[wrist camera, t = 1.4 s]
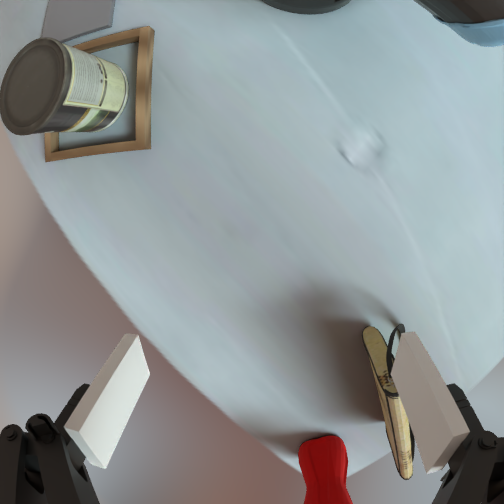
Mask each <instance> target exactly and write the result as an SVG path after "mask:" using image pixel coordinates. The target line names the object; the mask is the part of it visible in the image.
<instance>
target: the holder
mask: <svg viewBox="0 0 504 504" xmlns="http://www.w3.org/2000/svg"><path fill="white" fill-rule="evenodd" d="M138 41H139V47H138V61H137V80H136V140H135V141H126V142H117V143H109V144H102V145H95V146H88V147H81V148H75V149H69V150H64V151H59V132H54V133H45V161H46V162H50V161H56V160H62V159H68V158H75V157H82V156H89V155H97V154H105V153H113V152H123V151H133V150H144V149H151V81H152V60H153V44H154V30H153V29H152V28H151V27H150V26H146V27H141V28H137V29H132V30H128V31H124V32H120V33H116V34H112V35H108V36H105V37H101V38H98V39H94V40H91V41H88V42H85V43H81V44H78V45H75V46H72V47H73V48H76V49H79V50H81V51H84V52H86V53H93V52H96V51H100V50H104V49H107V48H111V47H115V46H120V45H124V44H128V43H133V42H138Z"/></svg>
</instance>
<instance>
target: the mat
mask: <svg viewBox="0 0 504 504" xmlns="http://www.w3.org/2000/svg"><path fill="white" fill-rule="evenodd" d="M114 6H115V0H49V3H48V7H47V12H46V16H45V21H44V27H43V32H42V38H43V37H50V38H53V39H56V40H58V41H60V42H61V43H63V42H66V41H69V40H72V39H74V38H77V37H80V36H83V35H86V34H89V33H92V32H96V31H99V30H102V29H106V28H109V27H112V19H113V12H114Z"/></svg>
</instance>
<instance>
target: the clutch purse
mask: <svg viewBox="0 0 504 504" xmlns="http://www.w3.org/2000/svg"><path fill="white" fill-rule="evenodd" d="M397 328H398V329H399V331H400V336H401V334H402V333H405V327H404V325H403V324H399V325H398V326H397V327H396V328H395V329H394V330H393V332H392V333H391V336H390V339H389V343H388V346H387V344H386V342H385V340H384V338H383V336H382V334H381V333H380V332H379V331H378V329H376V328H375V327H371V326H370V327H367V328H365V329H364V331H363V334H362V338H363V343H364V346H365V348H366V351H367V353H368V356H369V359H370V363H371V367H372V371H373V374H374V378H375V382H376V386H377V390H378V394H379V398H380V402H381V407H382V411H383V415H384V420H385V424H386V433H387V437H388V440H389V443H390V447H391V450H392V453H393V457H394V460H395V464H396V468H397V470H398V472H399V474H400V476H401V477H402V478H403V479H404V480H409V479H410V478H411V476H412V475H413V466H412V462H413V458H414V447H415V443H414V442H415V441H414V435H413V432H412V429H411V426H410V423H409V421H408V418H407V415H406V412H405V410H404V407H403V404H402V402H401V399H400V397H399V394H398V391H397V389H396V386H395V384H394V381H393V379H392V376H391V371H392V367H393V364H394V360H395V358H394V356H393V354H392V353H391V351H392V345H393V340H394V336H395V332H396V330H397ZM409 429H410V430H409Z"/></svg>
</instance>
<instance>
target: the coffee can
mask: <svg viewBox="0 0 504 504" xmlns="http://www.w3.org/2000/svg"><path fill="white" fill-rule="evenodd" d="M128 91H129V86H128V80H127V77H126V75H125V73H124V71H123V70H122V69H121V68H120V67H119V66H118V65H116V64H114V63H111V62H108V61H105V60H103V59H101V58H98V57H96V56H94V55H91V54H89V53H86V52H84V51H81V50H79V49H76V48H73V47H71V46H68V45H65V44H63V43H61V42H60V41H58V40H56V39H53V38H50V37H43V38H39V39H36V40H34V41H32V42H30V43H29V44H27V45H26V46H25V47H24V48H23V49H22V50H21V51H20V52H19V53H18V54H17V55H16V56H15V58H14V59H13V60H12V62H11V64H10V65H9V67H8V69H7V71H6V74H5V76H4V79H3V82H2V85H1V90H0V113H1V118H2V120H3V123H4V124H5V126H6V127H7V129H8V130H10V131H11V132H12V133H14V134H16V135H29V134H33V133H54V132H98V131H102V130H104V129H106V128H107V127H109V126H110V125H112V124H113V123H114V122H115V121H116V120H117V119H118V117H119V116H120V115H121V113H122V111H123V110H124V107H125V105H126V102H127V98H128Z"/></svg>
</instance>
